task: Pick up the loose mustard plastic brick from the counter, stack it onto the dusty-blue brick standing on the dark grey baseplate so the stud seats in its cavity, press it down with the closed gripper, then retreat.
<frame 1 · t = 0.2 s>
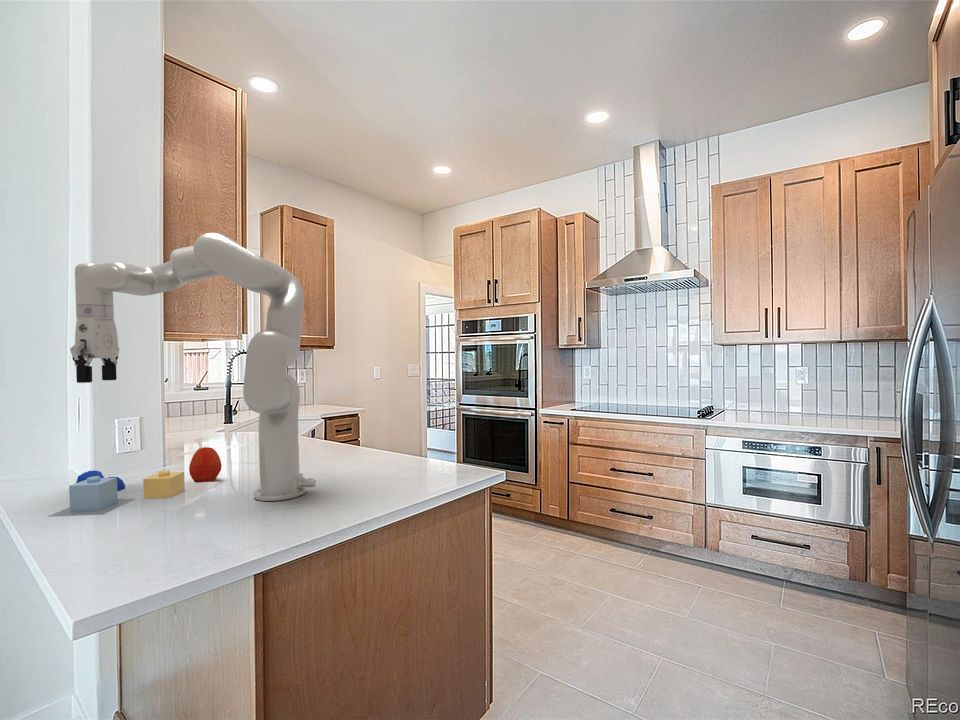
hand: (97, 381, 125), 30 cm above the counter, fingers open, 9 cm apart
toy: (101, 494, 133), on the counter
baseplate: (94, 511, 117), on the counter
ochre brick: (164, 498, 126), on the counter
apple: (206, 483, 142), on the counter
blue brick: (94, 506, 117), point 1 cm above the counter, touching baseplate
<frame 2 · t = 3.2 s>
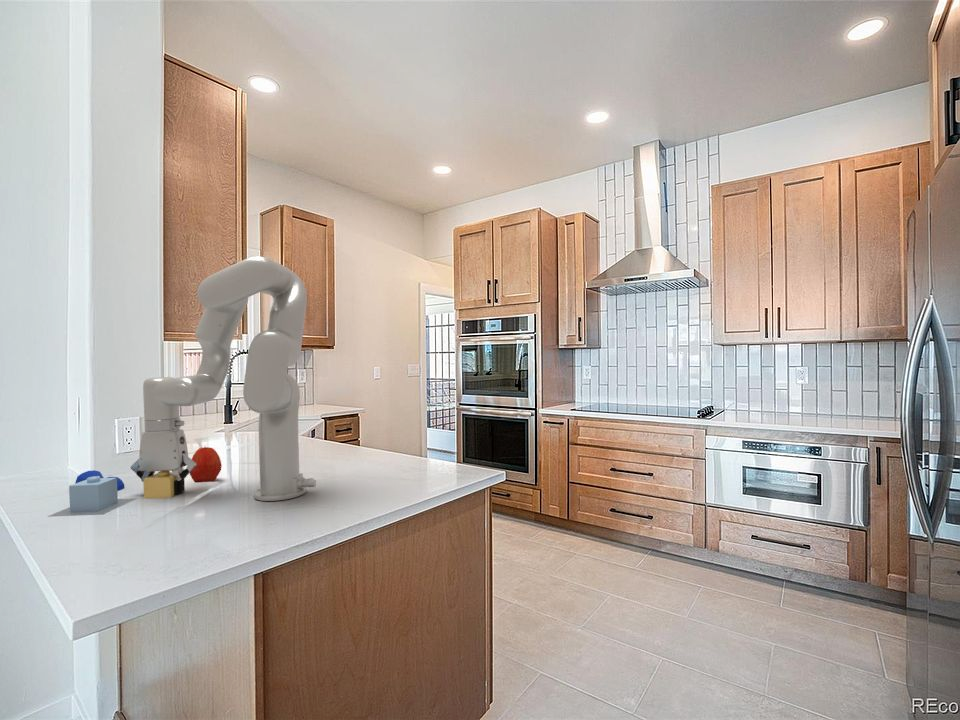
hand: (164, 494, 126), 1 cm above the counter, fingers closed on ochre brick, 6 cm apart
ochre brick: (164, 498, 126), on the counter, touching gripper
everything else where it was.
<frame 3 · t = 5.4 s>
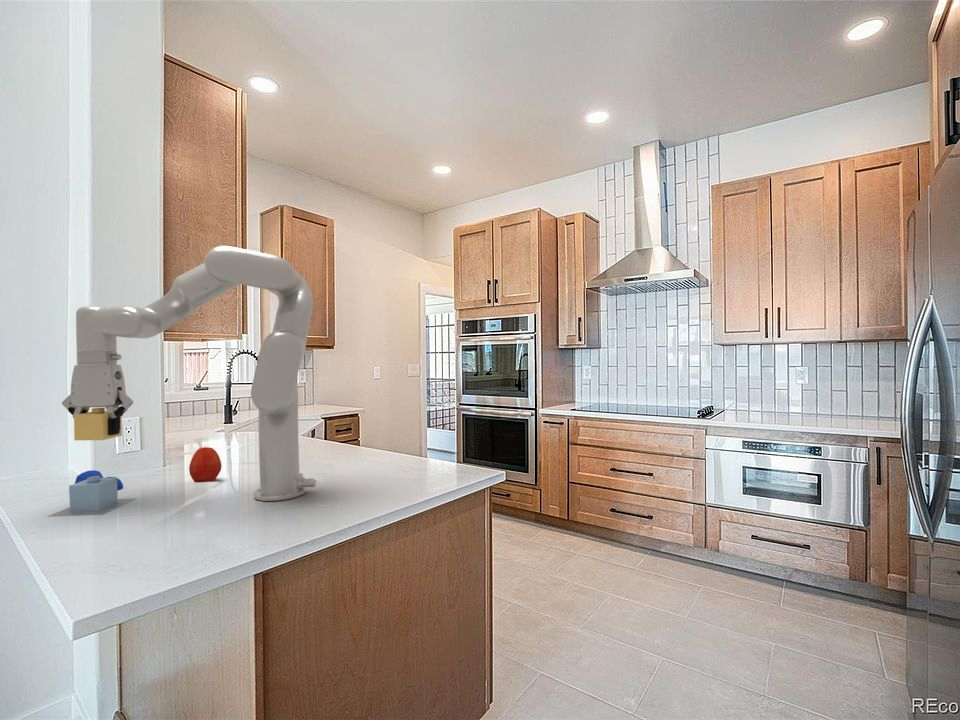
hand: (98, 433, 117), 18 cm above the counter, fingers closed on ochre brick, 6 cm apart
ochre brick: (98, 437, 118), point 17 cm above the counter, touching gripper
everything else where it was.
when the fingers open (9 cm above the counter, at t = 7.6 s): ochre brick stays where it is, resting on blue brick.
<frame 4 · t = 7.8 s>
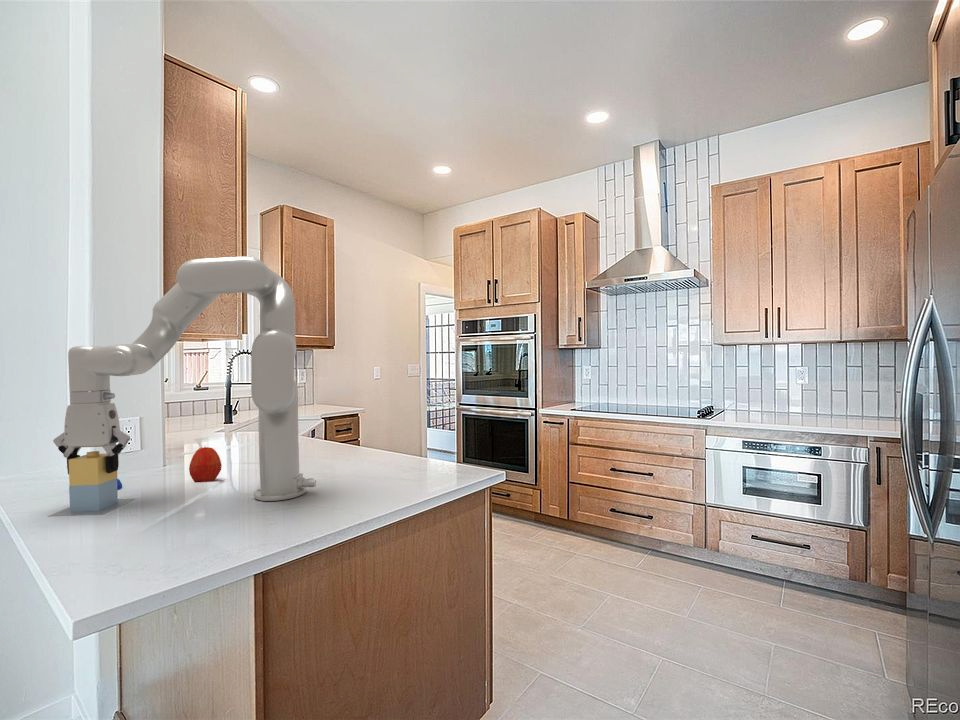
hand: (93, 472, 117), 9 cm above the counter, fingers open, 8 cm apart
ochre brick: (94, 481, 117), point 7 cm above the counter, touching blue brick
blue brick: (94, 506, 117), point 1 cm above the counter, touching baseplate, ochre brick
everything else where it was.
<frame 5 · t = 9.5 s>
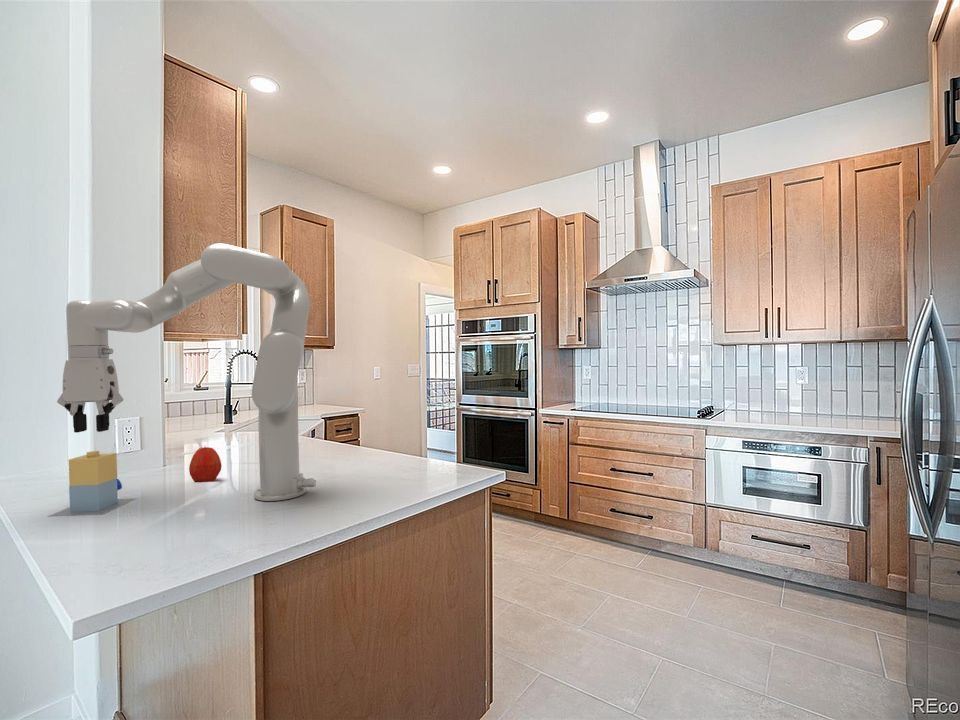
hand: (91, 430, 116), 19 cm above the counter, fingers open, 4 cm apart
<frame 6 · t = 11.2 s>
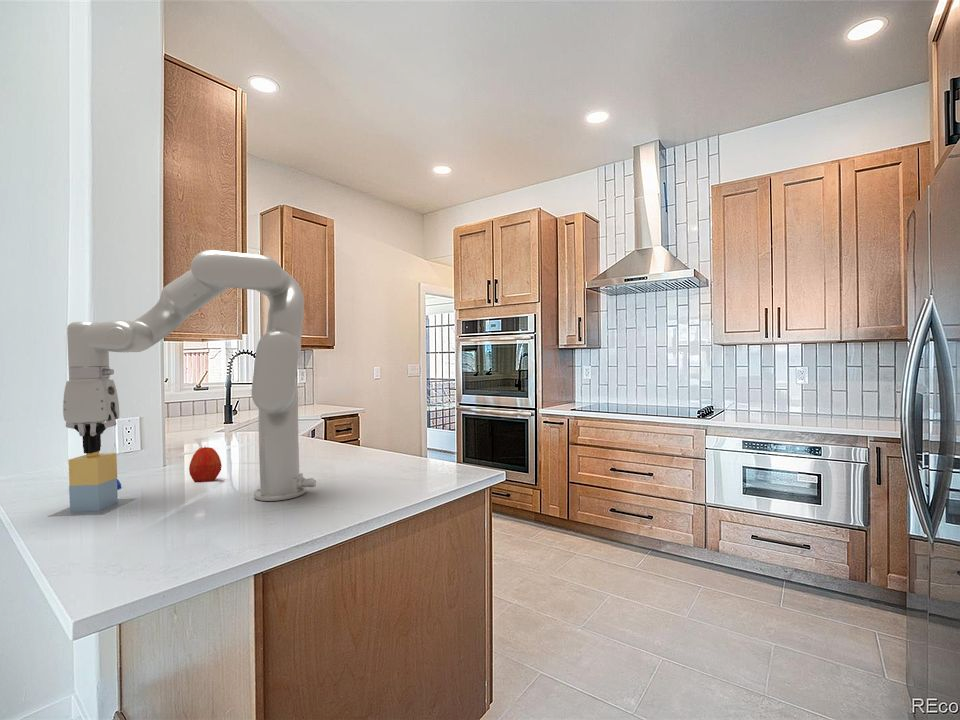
hand: (92, 451, 117), 14 cm above the counter, fingers closed
ochre brick: (94, 481, 117), point 7 cm above the counter, touching blue brick, gripper
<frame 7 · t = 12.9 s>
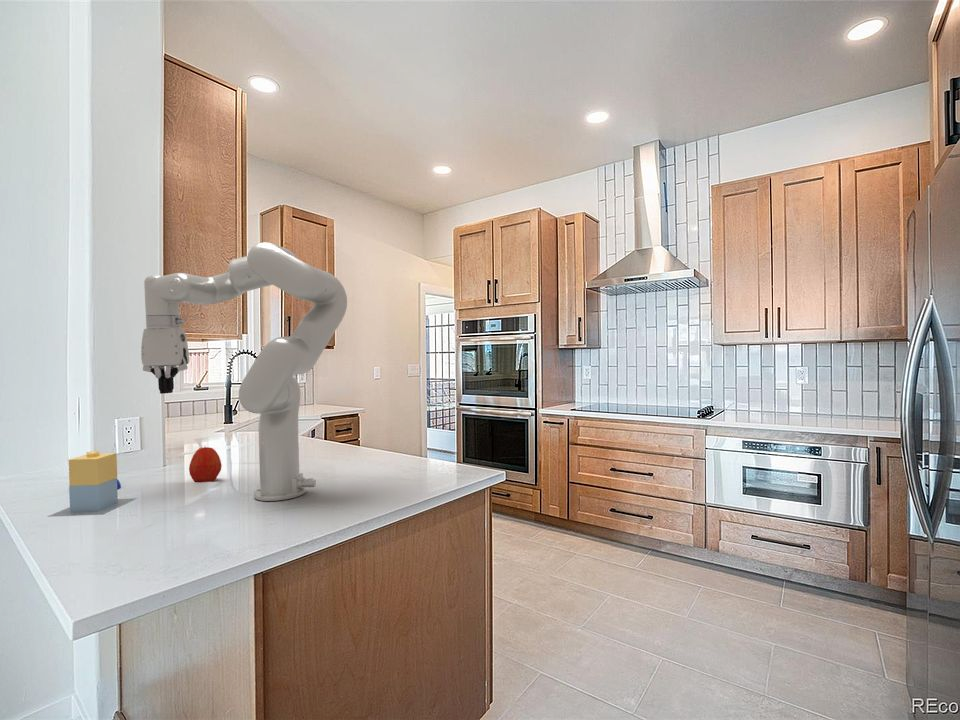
hand: (166, 392, 130), 27 cm above the counter, fingers closed
ochre brick: (94, 481, 117), point 7 cm above the counter, touching blue brick
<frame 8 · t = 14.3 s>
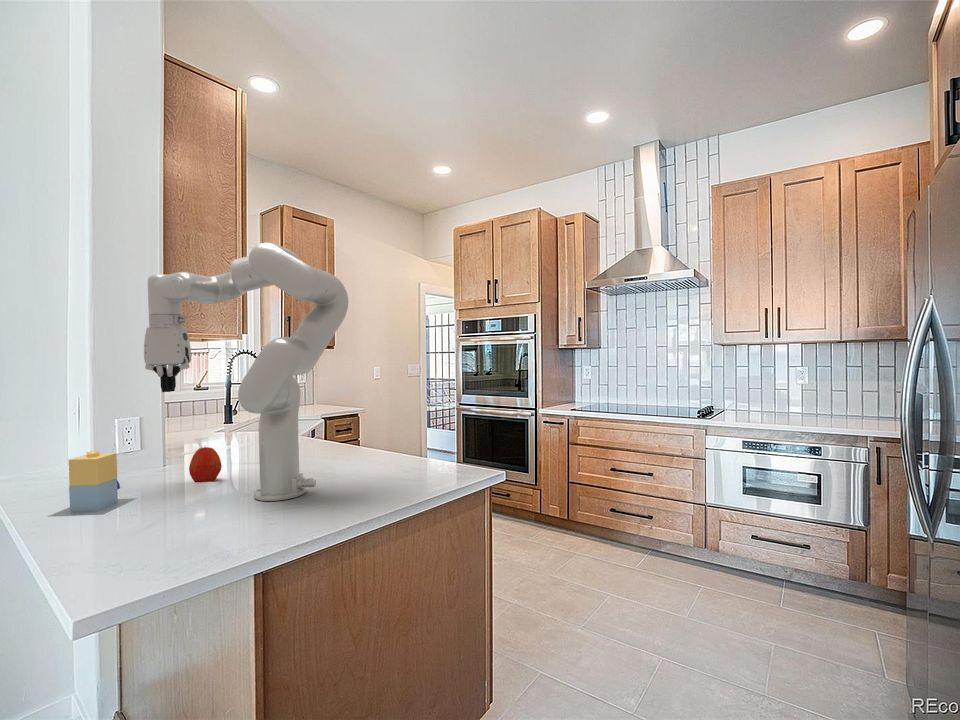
hand: (168, 391, 131), 27 cm above the counter, fingers closed
at the end: ochre brick 0.1 cm off-centre on the blue brick, point 6.0 cm above the blue brick's base; ochre brick tilted 0°; blue brick moved 0.0 cm from its start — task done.
